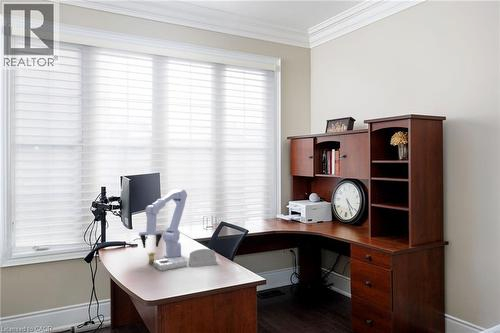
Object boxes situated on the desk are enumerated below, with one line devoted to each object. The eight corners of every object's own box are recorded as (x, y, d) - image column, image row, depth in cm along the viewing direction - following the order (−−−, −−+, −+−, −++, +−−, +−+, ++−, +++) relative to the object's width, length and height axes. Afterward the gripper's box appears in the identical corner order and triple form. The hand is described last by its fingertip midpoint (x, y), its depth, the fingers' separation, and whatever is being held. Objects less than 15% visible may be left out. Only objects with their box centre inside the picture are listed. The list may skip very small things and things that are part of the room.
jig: (178, 261, 227) (178, 256, 227) (186, 266, 217) (186, 261, 217) (153, 265, 218) (153, 260, 218) (160, 270, 208) (160, 265, 208)
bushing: (153, 261, 227) (153, 251, 227) (156, 263, 224) (156, 253, 224) (146, 262, 225) (146, 252, 225) (149, 264, 221) (149, 254, 221)
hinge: (189, 266, 215) (188, 249, 218) (188, 267, 219) (187, 250, 222) (217, 264, 220) (216, 247, 223) (216, 264, 224) (215, 248, 227)
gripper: (141, 226, 218) (140, 249, 217) (164, 225, 225) (164, 247, 224) (138, 224, 224) (137, 247, 223) (161, 223, 231) (160, 245, 230)
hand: (150, 247), depth 224 cm, fingers open, 7 cm apart
